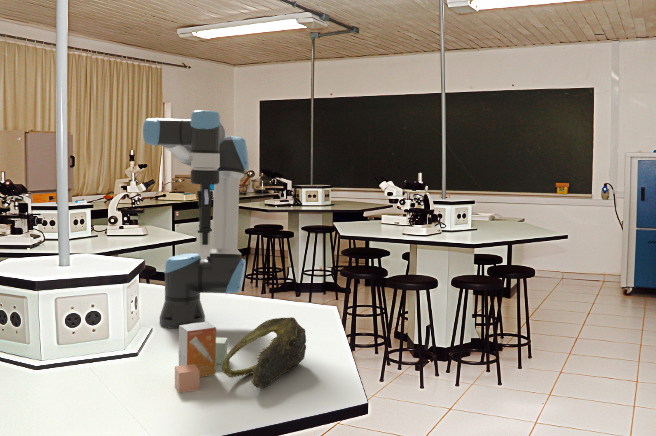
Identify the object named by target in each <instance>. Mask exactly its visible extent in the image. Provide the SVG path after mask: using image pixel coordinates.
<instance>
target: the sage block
mask: <svg viewBox="0 0 656 436" xmlns="http://www.w3.org/2000/svg"><path fill="white" fill-rule="evenodd" d="M227 354H228V337H219V336H216V360H215V365H222V364H223V361H224V359H225V358H226V356H227Z"/></svg>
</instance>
